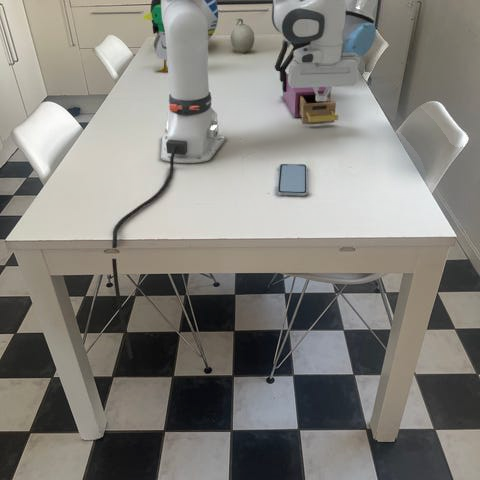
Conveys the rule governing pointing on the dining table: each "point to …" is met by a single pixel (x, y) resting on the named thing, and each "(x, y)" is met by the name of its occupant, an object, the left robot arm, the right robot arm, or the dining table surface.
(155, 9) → the toy
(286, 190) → the smartphone
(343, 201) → the dining table surface
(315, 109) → the drawer
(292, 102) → the purple drawer cabinet
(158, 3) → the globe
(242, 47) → the fruit
